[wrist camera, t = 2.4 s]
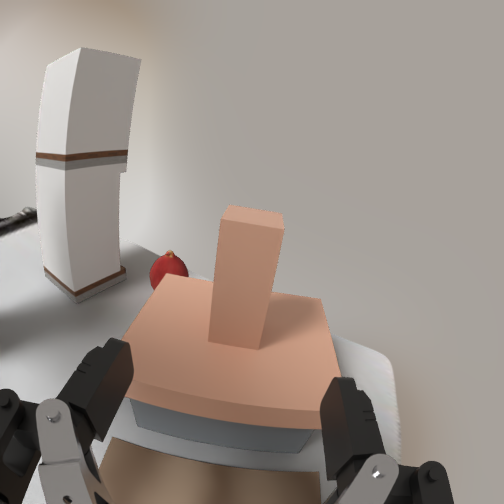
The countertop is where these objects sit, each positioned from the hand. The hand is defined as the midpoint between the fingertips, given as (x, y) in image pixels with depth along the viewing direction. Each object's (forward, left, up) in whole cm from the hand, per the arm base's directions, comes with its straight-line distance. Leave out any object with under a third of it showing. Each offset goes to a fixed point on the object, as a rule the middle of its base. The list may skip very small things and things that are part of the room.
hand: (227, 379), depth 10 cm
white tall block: (-27, +28, -16) cm, 42 cm away
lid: (0, +12, -9) cm, 15 cm away
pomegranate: (-11, +28, -16) cm, 34 cm away
